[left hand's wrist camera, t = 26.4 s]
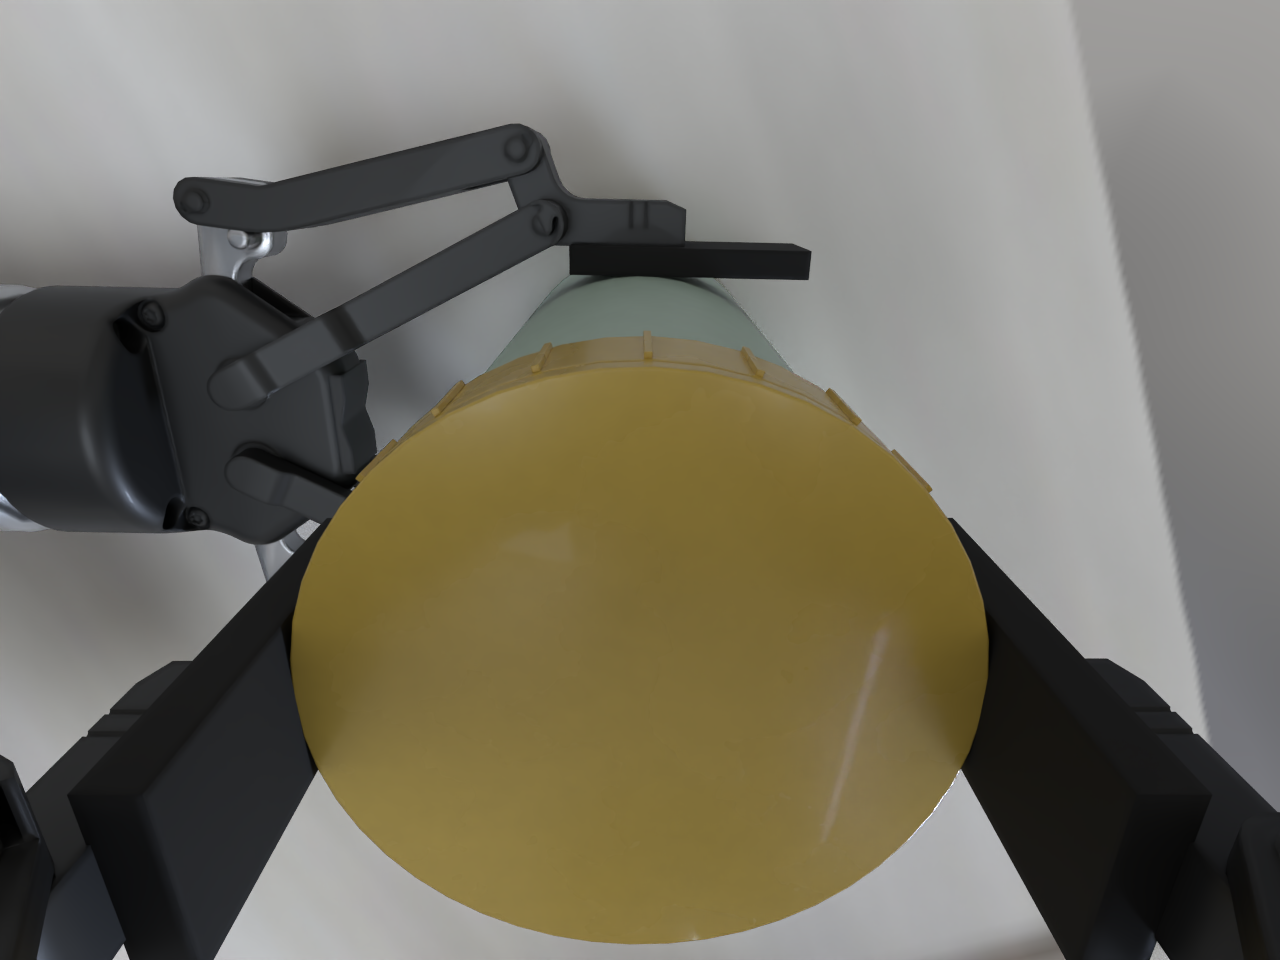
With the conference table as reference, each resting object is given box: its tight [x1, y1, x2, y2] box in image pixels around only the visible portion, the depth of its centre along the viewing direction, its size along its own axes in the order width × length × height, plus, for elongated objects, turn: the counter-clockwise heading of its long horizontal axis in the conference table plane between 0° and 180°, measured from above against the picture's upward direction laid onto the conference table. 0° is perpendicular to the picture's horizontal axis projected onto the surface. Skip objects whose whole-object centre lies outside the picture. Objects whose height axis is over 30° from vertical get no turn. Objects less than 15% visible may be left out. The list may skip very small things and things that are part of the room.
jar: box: [485, 275, 794, 373], centre depth 20 cm, size 9×9×18 cm
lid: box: [290, 331, 989, 944], centre depth 11 cm, size 10×10×2 cm
